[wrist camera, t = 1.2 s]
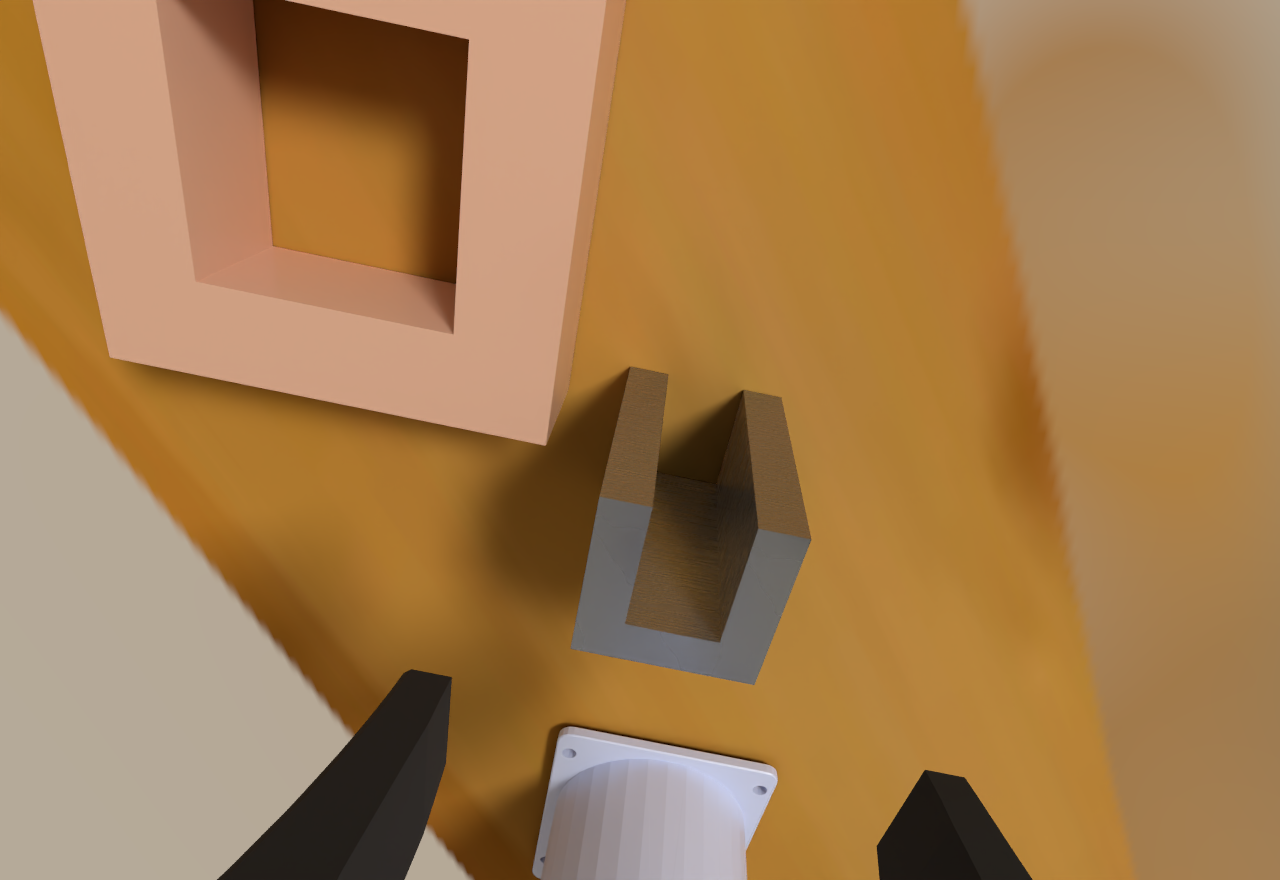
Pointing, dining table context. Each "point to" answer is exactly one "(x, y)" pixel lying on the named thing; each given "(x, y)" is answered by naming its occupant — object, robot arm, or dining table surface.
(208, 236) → the well
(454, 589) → the dining table surface
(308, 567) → the dining table surface
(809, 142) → the dining table surface
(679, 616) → the bracket
